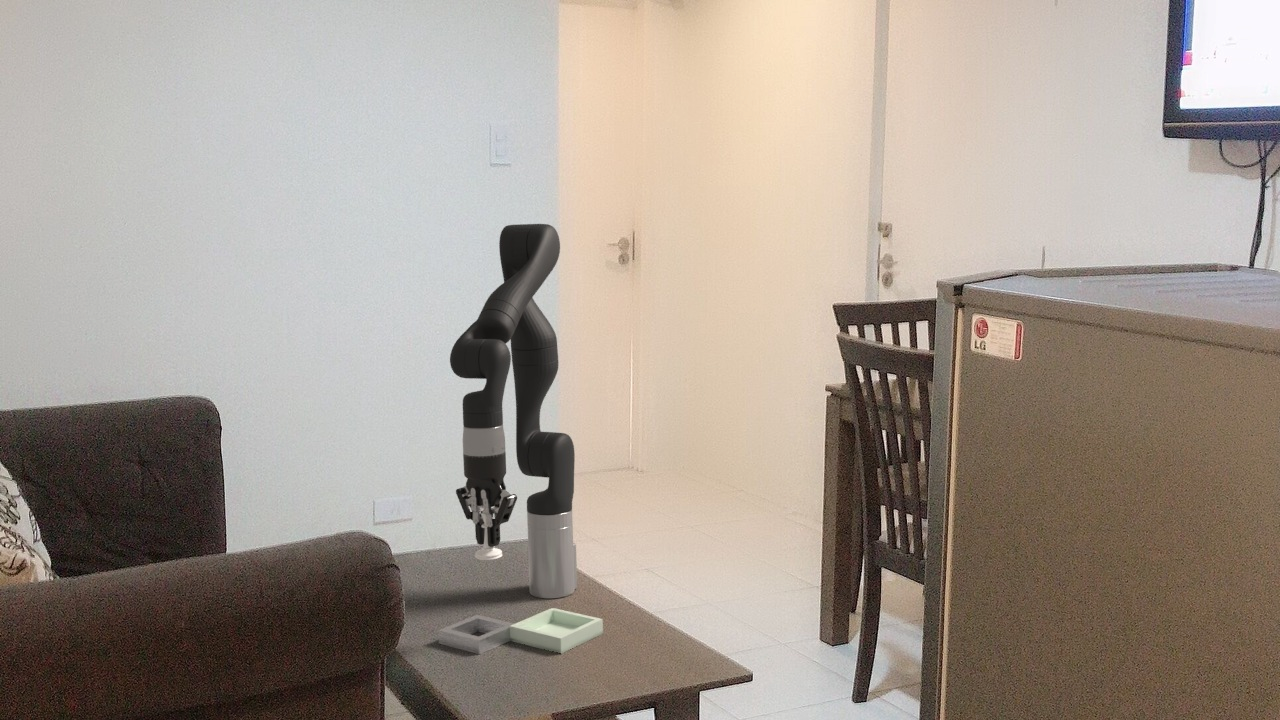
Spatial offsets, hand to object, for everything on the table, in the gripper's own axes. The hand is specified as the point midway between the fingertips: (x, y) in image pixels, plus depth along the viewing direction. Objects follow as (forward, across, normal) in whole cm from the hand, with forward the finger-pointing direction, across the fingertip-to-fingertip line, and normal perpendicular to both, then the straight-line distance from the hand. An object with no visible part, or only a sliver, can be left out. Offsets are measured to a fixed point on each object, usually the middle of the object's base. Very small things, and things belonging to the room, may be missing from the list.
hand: (488, 544), depth 208 cm
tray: (+18, -9, -7) cm, 21 cm away
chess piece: (+2, 0, 0) cm, 2 cm away
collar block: (+18, +2, +2) cm, 18 cm away
